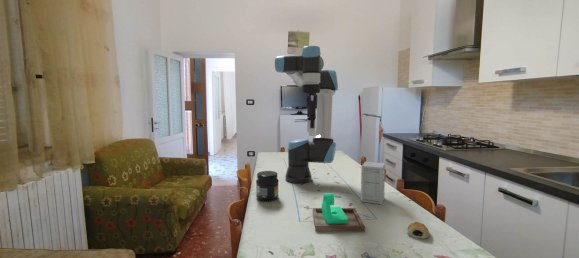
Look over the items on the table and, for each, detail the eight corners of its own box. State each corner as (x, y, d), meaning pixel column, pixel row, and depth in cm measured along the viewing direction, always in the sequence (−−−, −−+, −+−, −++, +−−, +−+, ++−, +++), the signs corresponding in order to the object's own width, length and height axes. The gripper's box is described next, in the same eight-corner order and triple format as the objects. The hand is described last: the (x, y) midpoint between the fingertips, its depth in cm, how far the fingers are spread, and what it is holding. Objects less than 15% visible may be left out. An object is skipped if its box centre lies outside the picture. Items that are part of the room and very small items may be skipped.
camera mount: (348, 226, 103) (348, 198, 101) (327, 226, 102) (327, 199, 101) (340, 212, 114) (340, 188, 113) (321, 213, 114) (321, 188, 113)
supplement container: (281, 195, 137) (281, 171, 136) (273, 203, 127) (273, 177, 126) (262, 193, 141) (261, 169, 139) (252, 200, 131) (251, 175, 129)
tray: (312, 212, 117) (312, 207, 117) (354, 212, 116) (355, 208, 116) (315, 231, 100) (315, 226, 100) (364, 231, 100) (364, 226, 100)
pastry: (408, 226, 105) (409, 216, 104) (428, 229, 102) (429, 219, 101) (406, 237, 96) (407, 226, 96) (428, 241, 93) (429, 230, 93)
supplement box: (384, 197, 133) (385, 162, 131) (382, 204, 125) (383, 167, 123) (364, 195, 137) (364, 161, 135) (360, 201, 129) (361, 165, 127)
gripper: (301, 85, 132) (301, 130, 134) (303, 82, 107) (303, 138, 109) (317, 84, 132) (317, 130, 134) (323, 82, 107) (322, 138, 109)
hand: (311, 133), depth 122 cm, fingers open, 13 cm apart
